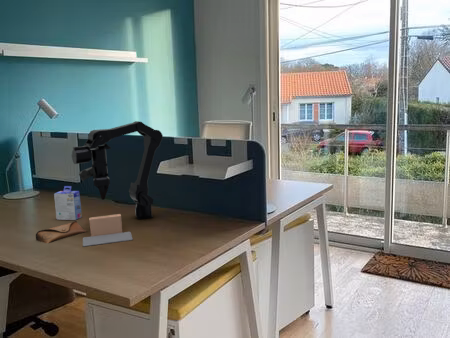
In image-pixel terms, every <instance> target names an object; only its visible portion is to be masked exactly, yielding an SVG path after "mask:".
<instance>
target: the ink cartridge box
mask: <svg viewBox="0 0 450 338" xmlns="http://www.w3.org/2000/svg"><path fill="white" fill-rule="evenodd" d="M63 187H64V188H63V190H60V191H57V192H55V193H54V194H53V195H54V197H53V198H54V206H55V219H56V220H58V221H59V220H60V221H61V220H63V221H66V220H67V221H77V220H78V219H81V218H82V217H83V215H82V204H81V196H80V190H72V185H64V186H63Z"/></svg>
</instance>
